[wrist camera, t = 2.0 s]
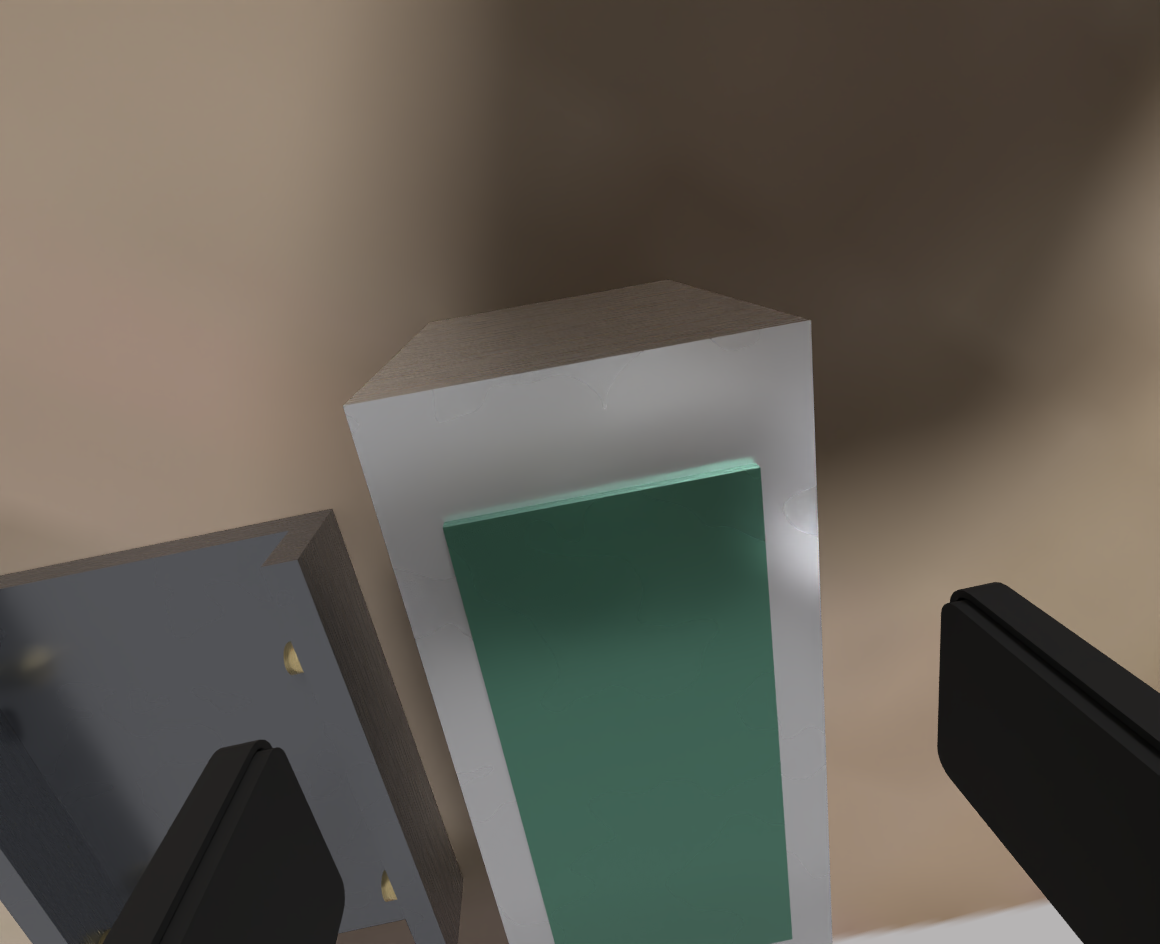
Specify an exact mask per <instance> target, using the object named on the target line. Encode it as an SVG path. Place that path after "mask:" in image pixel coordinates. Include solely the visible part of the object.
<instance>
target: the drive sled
mask: <svg viewBox="0 0 1160 944" xmlns="http://www.w3.org/2000/svg"><path fill="white" fill-rule="evenodd" d="M256 740H266V741H268V742H269V743H270V744H271V746H272V748H276V747H280V748H281V749H283V750H284V752H285V754H286V756H287V758H288V760H289V762H290V764H291V767H292V769H293V771H294V773H295V776H296V778H297V780H298V782H299V785H300V787H301V789H302V791H303V793H304V796H305V798H306V800H307V802H308V805H309V807H310V809H311V811H312V813H313V816H314V818H315V820H316V822H317V825H318V827H319V829H320V831H321V833H322V836H323V838H324V840H325V842H326V845H327V847H328V849H329V851H330V853H331V856H332V858H333V860H334V862H335V865H336V867H337V869H338V871H339V873H340V876H341V878H342V881H343V884H344V890H345V906H344V911H343V916H342V920H341V924H340V928H339V932H338V933H343V932H348V931H352V930H357V929H362V928H366V927H371V926H375V925H380V924H385V923H389V922H394V921H398V920H403V919H406V922H407V924H408V926H409V929H410V931H411V934H412V936H413V939H414V941H415V943H416V944H458V933H459V921H460V910H461V898H462V886H463V878H462V875H461V873H460V870H459V867H458V864H457V861H456V858H455V856H454V853H453V850H452V847H451V844H450V841H449V839H448V836H447V833H446V830H445V827H444V824H443V822H442V819H441V816H440V813H439V810H438V807H437V805H436V802H435V799H434V796H433V793H432V790H431V788H430V785H429V782H428V779H427V776H426V773H425V771H424V768H423V765H422V762H421V759H420V756H419V754H418V751H417V748H416V745H415V742H414V739H413V737H412V734H411V731H410V728H409V725H408V722H407V720H406V717H405V714H404V711H403V708H402V705H401V703H400V700H399V697H398V694H397V691H396V688H395V686H394V683H393V680H392V677H391V674H390V671H389V669H388V666H387V663H386V660H385V657H384V654H383V652H382V649H381V646H380V643H379V640H378V637H377V635H376V632H375V629H374V626H373V623H372V620H371V618H370V615H369V612H368V609H367V606H366V603H365V601H364V598H363V595H362V592H361V589H360V586H359V584H358V581H357V578H356V575H355V572H354V569H353V566H352V564H351V561H350V558H349V555H348V552H347V549H346V547H345V544H344V541H343V538H342V535H341V532H340V530H339V527H338V524H337V521H336V518H335V515H334V513H333V510H332V509H329V510H324V511H319V512H314V513H309V514H304V515H299V516H294V517H289V518H284V519H279V520H274V521H269V522H264V523H259V524H254V525H249V526H244V527H239V528H235V529H230V530H225V531H220V532H215V533H210V534H205V535H200V536H195V537H190V538H185V539H180V540H175V541H170V542H165V543H160V544H155V545H150V546H145V547H140V548H136V549H131V550H126V551H121V552H116V553H111V554H106V555H101V556H96V557H91V558H86V559H81V560H76V561H71V562H66V563H61V564H56V565H51V566H46V567H41V568H37V569H32V570H27V571H22V572H17V573H12V574H7V575H2V576H0V900H1V902H2V903H3V904H4V906H5V907H6V908H7V910H8V911H9V912H10V914H11V915H12V916H13V918H14V919H15V921H16V922H17V923H18V925H19V926H20V927H21V929H22V930H23V931H24V933H25V934H26V935H27V937H28V938H29V939H30V941H31V942H32V943H33V944H102V943H103V942H104V940H105V938H106V936H107V935H108V933H109V931H110V930H111V928H112V926H113V924H114V923H115V921H116V919H117V918H118V916H119V914H120V912H121V911H122V909H123V907H124V906H125V904H126V902H127V900H128V899H129V897H130V895H131V894H132V892H133V890H134V888H135V887H136V885H137V883H138V882H139V880H140V878H141V876H142V875H143V873H144V871H145V870H146V868H147V866H148V864H149V863H150V861H151V859H152V858H153V856H154V854H155V852H156V851H157V849H158V847H159V846H160V844H161V842H162V840H163V839H164V837H165V835H166V834H167V832H168V830H169V828H170V827H171V825H172V823H173V821H174V820H175V818H176V816H177V815H178V813H179V811H180V809H181V808H182V806H183V804H184V803H185V801H186V799H187V797H188V796H189V794H190V792H191V791H192V789H193V787H194V785H195V784H196V782H197V780H198V779H199V777H200V775H201V773H202V772H203V770H204V768H205V767H206V765H207V763H208V761H209V760H210V758H211V757H212V755H213V754H214V753H215V751H217V750H219V749H220V748H223V747H228V746H232V745H237V744H242V743H246V742H251V741H256Z"/></svg>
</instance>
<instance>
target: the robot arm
mask: <svg viewBox="0 0 1160 944" xmlns="http://www.w3.org/2000/svg"><path fill="white" fill-rule="evenodd" d="M937 747H938V755H939V759H940V761H941V764H942V766H943V768H944V770H945V772H946V773H947V775H948V776H949V778H950V779H951V780H952V781H953V783H954V784H955V785H956V786H957V788H958V789H959V790H960V791H961V793H962V794H963V795H964V796H965V797H966V799H967V800H968V801H969V802H970V804H971V805H972V806H973V807H974V809H975V810H976V811H977V812H978V814H979V815H980V816H981V817H982V819H983V820H984V821H985V822H986V823H987V825H988V826H989V827H990V828H991V830H992V831H993V832H994V833H995V835H996V836H997V837H998V838H999V840H1000V841H1001V842H1002V843H1003V845H1004V846H1005V847H1006V848H1007V849H1008V851H1009V852H1010V853H1011V854H1012V856H1013V857H1014V858H1015V859H1016V861H1017V862H1018V863H1019V864H1020V866H1021V867H1022V868H1023V869H1024V870H1025V872H1026V873H1027V874H1028V875H1029V877H1030V878H1031V879H1032V880H1033V882H1034V883H1035V884H1036V885H1037V887H1038V888H1039V889H1040V890H1041V892H1042V893H1043V894H1044V895H1045V896H1046V898H1047V899H1048V900H1049V901H1050V903H1051V904H1052V905H1053V906H1054V908H1055V909H1056V910H1057V911H1058V912H1059V914H1060V915H1061V916H1062V917H1063V919H1064V920H1065V921H1066V922H1067V924H1068V925H1069V926H1070V927H1071V929H1072V930H1073V931H1074V932H1075V934H1076V935H1077V936H1078V937H1079V938H1080V940H1081V941H1082V942H1083V943H1084V944H1160V693H1159V692H1157V691H1156V690H1154V689H1153V688H1151V687H1150V686H1149V685H1147V684H1146V683H1144V682H1143V681H1142V680H1140V679H1139V678H1137V677H1136V676H1134V675H1133V674H1132V673H1130V672H1129V671H1127V670H1126V669H1124V668H1123V667H1122V666H1120V665H1119V664H1117V663H1116V662H1115V661H1113V660H1112V659H1110V658H1109V657H1107V656H1106V655H1105V654H1103V653H1102V652H1100V651H1099V650H1098V649H1096V648H1095V647H1093V646H1092V645H1090V644H1089V643H1088V642H1086V641H1085V640H1083V639H1082V638H1080V637H1079V636H1078V635H1076V634H1075V633H1073V632H1072V631H1071V630H1069V629H1068V628H1066V627H1065V626H1063V625H1062V624H1061V623H1059V622H1058V621H1056V620H1055V619H1053V618H1052V617H1051V616H1049V615H1048V614H1046V613H1045V612H1044V611H1042V610H1041V609H1039V608H1038V607H1036V606H1035V605H1034V604H1032V603H1031V602H1029V601H1028V600H1027V599H1025V598H1024V597H1022V596H1021V595H1019V594H1018V593H1017V592H1015V591H1014V590H1012V589H1011V588H1009V587H1008V586H1006V585H1004V584H1002V583H998V582H993V583H988V584H984V585H979V586H974V587H970V588H965V589H960V590H957V591H955V592H954V593H953V594H952V596H951V599H950V603H947V604H945V605H944V606H943V608H942V612H941V639H940V674H939V710H938V745H937ZM344 906H345V890H344V884H343V881H342V878H341V876H340V873H339V871H338V869H337V867H336V865H335V862H334V860H333V858H332V856H331V853H330V851H329V849H328V847H327V845H326V842H325V840H324V838H323V836H322V833H321V831H320V829H319V827H318V825H317V822H316V820H315V818H314V816H313V813H312V811H311V809H310V807H309V805H308V802H307V800H306V798H305V796H304V793H303V791H302V789H301V787H300V785H299V782H298V780H297V778H296V776H295V773H294V771H293V769H292V767H291V764H290V762H289V760H288V758H287V756H286V754H285V752H284V750H283V749H281V748H280V747H276V748H272V746H271V744H270V743H269V742H268V741H266V740H256V741H251V742H246V743H242V744H237V745H232V746H228V747H223V748H220V749H219V750H217V751H215V753H214V754H213V755H212V757H211V758H210V760H209V761H208V763H207V765H206V767H205V768H204V770H203V772H202V773H201V775H200V777H199V779H198V780H197V782H196V784H195V785H194V787H193V789H192V791H191V792H190V794H189V796H188V797H187V799H186V801H185V803H184V804H183V806H182V808H181V809H180V811H179V813H178V815H177V816H176V818H175V820H174V821H173V823H172V825H171V827H170V828H169V830H168V832H167V834H166V835H165V837H164V839H163V840H162V842H161V844H160V846H159V847H158V849H157V851H156V852H155V854H154V856H153V858H152V859H151V861H150V863H149V864H148V866H147V868H146V870H145V871H144V873H143V875H142V876H141V878H140V880H139V882H138V883H137V885H136V887H135V888H134V890H133V892H132V894H131V895H130V897H129V899H128V900H127V902H126V904H125V906H124V907H123V909H122V911H121V912H120V914H119V916H118V918H117V919H116V921H115V923H114V924H113V926H112V928H111V930H110V931H109V933H108V935H107V936H106V938H105V940H104V942H103V943H102V944H336V940H337V936H338V932H339V928H340V924H341V920H342V916H343V911H344Z"/></svg>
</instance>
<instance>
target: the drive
mask: <svg viewBox="0 0 1160 944" xmlns="http://www.w3.org/2000/svg"><path fill="white" fill-rule="evenodd" d="M343 408H344V411H345V414H346V418H347V421H348V424H349V427H350V430H351V434H352V437H353V440H354V443H355V447H356V450H357V453H358V456H359V460H360V463H361V466H362V469H363V473H364V476H365V479H366V482H367V486H368V489H369V492H370V495H371V498H372V502H373V505H374V508H375V511H376V515H377V518H378V521H379V524H380V528H381V531H382V534H383V537H384V541H385V544H386V547H387V550H388V553H389V557H390V560H391V563H392V566H393V570H394V573H395V576H396V579H397V583H398V586H399V589H400V592H401V596H402V599H403V602H404V605H405V609H406V612H407V615H408V618H409V621H410V625H411V628H412V631H413V634H414V638H415V641H416V644H417V647H418V651H419V654H420V657H421V660H422V664H423V667H424V670H425V673H426V677H427V680H428V683H429V686H430V689H431V693H432V696H433V699H434V702H435V706H436V709H437V712H438V715H439V719H440V722H441V725H442V728H443V732H444V735H445V738H446V741H447V745H448V748H449V751H450V754H451V757H452V761H453V764H454V767H455V770H456V774H457V777H458V780H459V783H460V787H461V790H462V793H463V796H464V800H465V803H466V806H467V809H468V813H469V816H470V819H471V822H472V825H473V829H474V832H475V835H476V838H477V842H478V845H479V848H480V851H481V855H482V858H483V861H484V864H485V868H486V871H487V874H488V877H489V881H490V884H491V887H492V890H493V893H494V897H495V900H496V903H497V906H498V910H499V913H500V916H501V919H502V923H503V926H504V929H505V932H506V936H507V939H508V942H509V944H832V919H831V889H830V860H829V831H828V802H827V773H826V744H825V715H824V686H823V656H822V627H821V598H820V569H819V540H818V511H817V482H816V453H815V423H814V394H813V365H812V336H811V320H809V319H806V318H802V317H798V316H795V315H791V314H788V313H784V312H781V311H777V310H774V309H770V308H767V307H763V306H760V305H756V304H753V303H749V302H746V301H742V300H739V299H735V298H732V297H728V296H725V295H721V294H717V293H714V292H710V291H707V290H703V289H700V288H696V287H693V286H689V285H686V284H682V283H679V282H675V281H672V280H662V281H657V282H651V283H646V284H640V285H635V286H629V287H624V288H618V289H612V290H607V291H601V292H596V293H590V294H585V295H579V296H574V297H568V298H563V299H557V300H551V301H546V302H540V303H535V304H529V305H524V306H518V307H513V308H507V309H502V310H496V311H491V312H485V313H479V314H474V315H468V316H463V317H457V318H452V319H446V320H441V321H435V322H430V323H428V324H427V325H426V326H425V327H424V328H423V329H422V330H421V331H420V332H419V333H418V334H417V335H416V336H415V337H414V338H413V339H412V340H411V341H410V342H409V343H408V344H407V345H405V346H404V347H403V348H402V349H401V350H400V351H399V352H398V353H397V354H396V355H395V356H394V357H393V358H392V359H391V360H390V361H389V362H388V363H387V364H386V365H385V366H384V367H383V368H382V369H381V370H380V371H379V372H378V373H376V374H375V375H374V376H373V377H372V378H371V379H370V380H369V381H368V382H367V383H366V384H365V385H364V386H363V387H362V388H361V389H360V390H359V391H358V392H357V393H356V394H355V395H354V396H353V397H352V398H351V399H350V400H349V401H347V402H346V403H345V404H344V405H343Z"/></svg>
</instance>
